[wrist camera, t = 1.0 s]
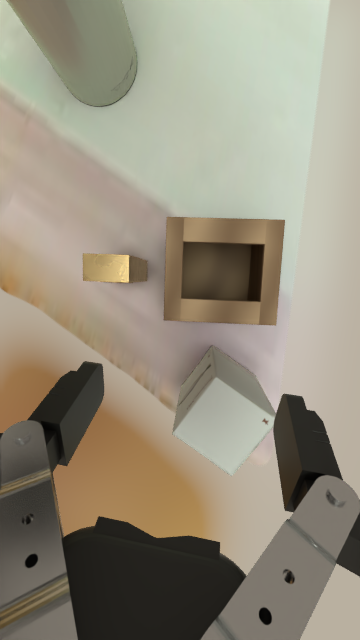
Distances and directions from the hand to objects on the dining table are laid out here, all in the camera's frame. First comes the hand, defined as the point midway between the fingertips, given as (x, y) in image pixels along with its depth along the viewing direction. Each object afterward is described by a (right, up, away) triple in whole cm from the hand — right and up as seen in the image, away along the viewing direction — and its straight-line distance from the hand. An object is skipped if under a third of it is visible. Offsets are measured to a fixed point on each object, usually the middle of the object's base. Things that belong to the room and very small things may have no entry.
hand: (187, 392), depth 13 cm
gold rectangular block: (-7, +10, +25) cm, 28 cm away
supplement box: (+5, -5, +27) cm, 28 cm away
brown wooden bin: (+4, +9, +25) cm, 27 cm away
